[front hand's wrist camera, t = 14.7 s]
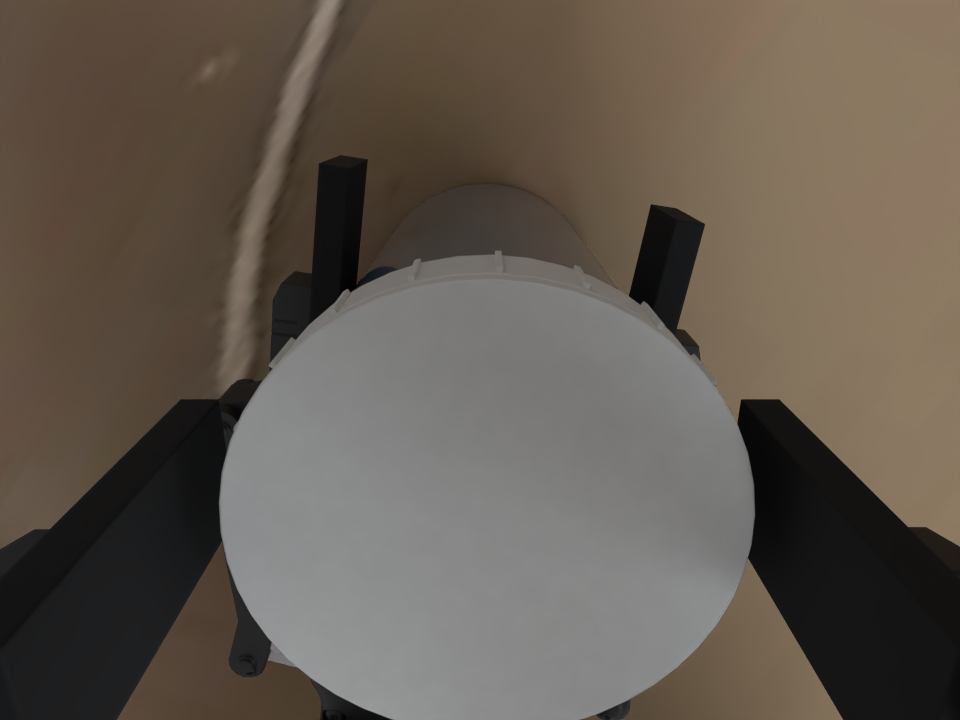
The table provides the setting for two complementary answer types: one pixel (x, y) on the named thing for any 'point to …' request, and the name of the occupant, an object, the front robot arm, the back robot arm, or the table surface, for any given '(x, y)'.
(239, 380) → the back robot arm
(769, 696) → the table surface
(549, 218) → the jar
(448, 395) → the lid
